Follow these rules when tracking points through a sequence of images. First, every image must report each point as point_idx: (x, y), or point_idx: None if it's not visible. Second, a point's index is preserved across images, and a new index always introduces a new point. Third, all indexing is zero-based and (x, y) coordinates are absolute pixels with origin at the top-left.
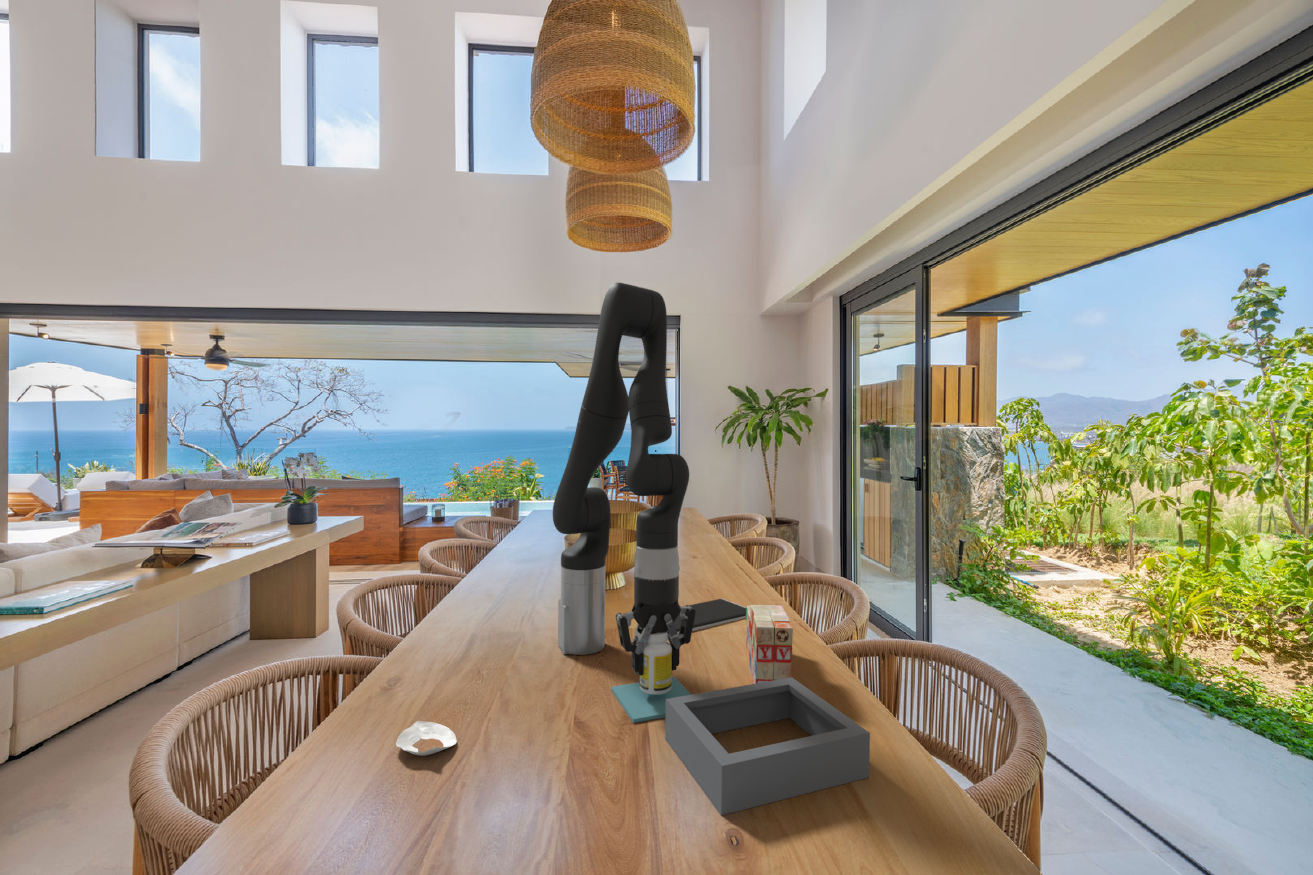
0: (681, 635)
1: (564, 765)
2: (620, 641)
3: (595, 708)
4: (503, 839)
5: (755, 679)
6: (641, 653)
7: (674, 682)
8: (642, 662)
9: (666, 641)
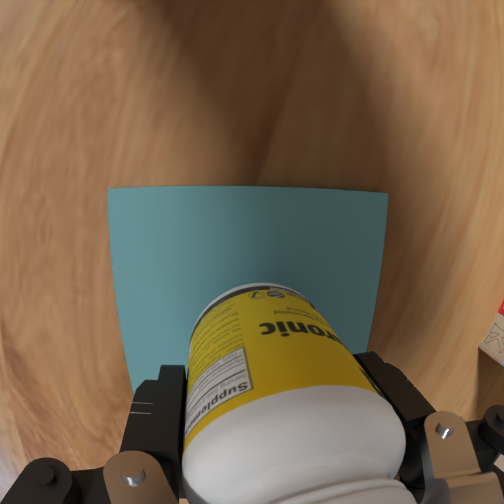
0: (481, 462)
1: (21, 453)
2: (17, 489)
3: (45, 304)
4: (5, 493)
5: (501, 362)
6: (179, 490)
7: (367, 240)
8: None
9: (397, 466)
